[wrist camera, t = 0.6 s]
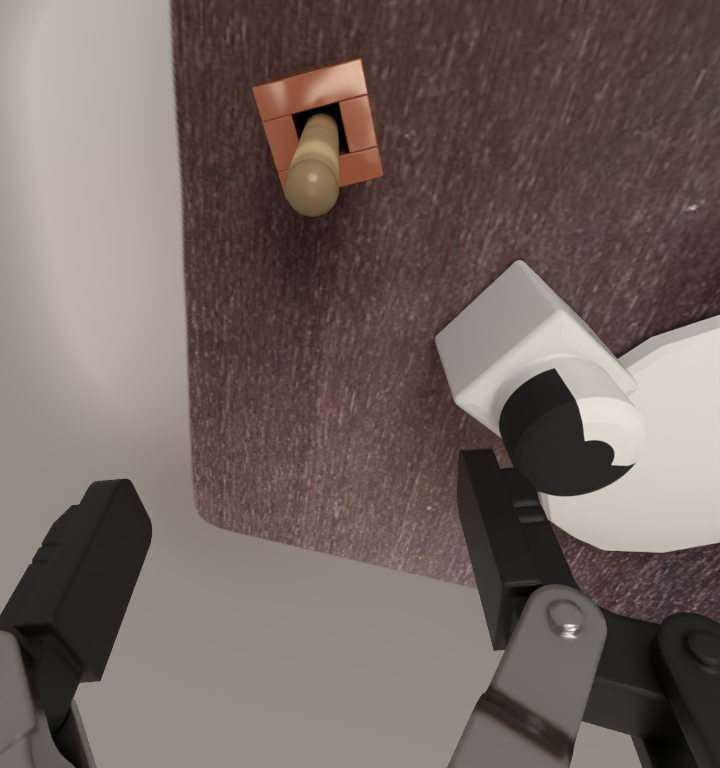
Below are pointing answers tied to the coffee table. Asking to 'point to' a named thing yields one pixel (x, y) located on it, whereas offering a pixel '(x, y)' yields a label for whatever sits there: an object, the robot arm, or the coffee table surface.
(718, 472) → the decorative plate
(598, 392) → the container
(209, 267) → the coffee table surface
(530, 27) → the coffee table surface
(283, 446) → the coffee table surface
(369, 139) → the utensil block
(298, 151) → the cooking stick
